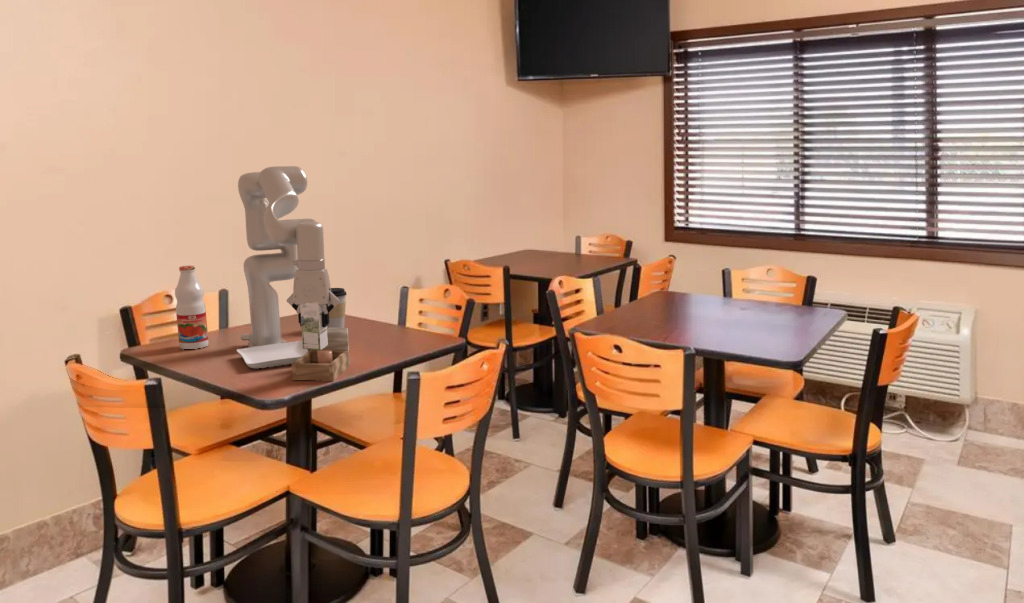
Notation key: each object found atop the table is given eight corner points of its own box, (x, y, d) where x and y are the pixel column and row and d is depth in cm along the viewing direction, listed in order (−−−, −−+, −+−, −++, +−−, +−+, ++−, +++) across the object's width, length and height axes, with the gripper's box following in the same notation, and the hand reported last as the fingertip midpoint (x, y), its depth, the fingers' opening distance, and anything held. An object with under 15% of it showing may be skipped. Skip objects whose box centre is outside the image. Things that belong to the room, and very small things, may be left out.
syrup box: (328, 345, 230) (326, 297, 227) (320, 350, 225) (318, 301, 221) (310, 344, 231) (308, 296, 228) (301, 349, 226) (299, 300, 222)
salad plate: (247, 373, 234) (246, 362, 233) (236, 358, 252) (235, 348, 252) (317, 364, 244) (317, 353, 243) (301, 350, 262) (301, 340, 261)
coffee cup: (345, 331, 288) (343, 291, 285) (320, 331, 288) (317, 291, 285) (351, 325, 297) (348, 287, 294) (326, 326, 297) (324, 287, 294)
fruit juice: (209, 342, 273) (202, 263, 268) (208, 348, 264) (201, 267, 259) (180, 345, 270) (172, 265, 265) (178, 351, 261) (170, 269, 256)
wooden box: (333, 381, 223) (331, 340, 221) (291, 381, 224) (288, 340, 222) (349, 365, 240) (347, 327, 238) (310, 365, 241) (307, 327, 239)
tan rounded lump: (316, 371, 233) (315, 352, 232) (321, 368, 238) (319, 349, 237) (330, 372, 233) (329, 352, 232) (335, 368, 237) (333, 349, 236)
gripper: (277, 266, 220) (280, 328, 223) (337, 268, 218) (339, 330, 222) (286, 262, 227) (290, 322, 231) (344, 263, 226) (346, 323, 230)
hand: (314, 325), depth 227 cm, fingers closed on syrup box, 6 cm apart
